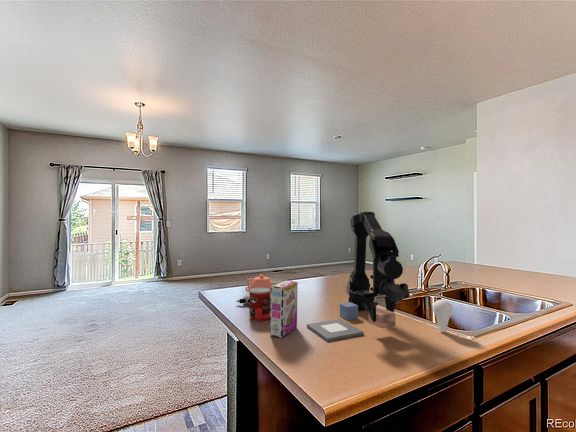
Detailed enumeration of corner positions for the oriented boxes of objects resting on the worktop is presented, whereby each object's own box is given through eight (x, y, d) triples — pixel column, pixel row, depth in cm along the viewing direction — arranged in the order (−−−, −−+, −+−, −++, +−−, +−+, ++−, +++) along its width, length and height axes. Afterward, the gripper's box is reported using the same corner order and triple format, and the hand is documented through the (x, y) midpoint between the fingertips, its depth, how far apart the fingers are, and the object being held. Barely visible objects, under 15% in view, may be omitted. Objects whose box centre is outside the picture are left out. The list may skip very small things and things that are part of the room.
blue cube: (350, 314, 124) (350, 302, 124) (358, 318, 120) (358, 305, 120) (339, 316, 122) (339, 303, 122) (347, 320, 118) (347, 307, 118)
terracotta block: (383, 319, 106) (383, 308, 106) (395, 325, 101) (395, 313, 101) (368, 322, 104) (368, 310, 104) (380, 328, 98) (380, 315, 98)
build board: (340, 321, 116) (340, 318, 116) (363, 334, 103) (363, 331, 103) (306, 327, 110) (306, 323, 110) (327, 341, 98) (327, 338, 98)
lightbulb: (445, 336, 101) (445, 303, 101) (428, 330, 107) (428, 298, 107) (457, 333, 104) (457, 300, 104) (440, 327, 110) (440, 296, 110)
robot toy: (234, 307, 137) (259, 311, 128) (233, 297, 137) (259, 300, 128) (253, 301, 147) (278, 304, 138) (253, 292, 147) (277, 294, 138)
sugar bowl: (272, 298, 149) (272, 277, 149) (243, 298, 149) (243, 277, 149) (274, 292, 161) (274, 272, 161) (247, 292, 161) (247, 272, 161)
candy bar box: (283, 339, 100) (283, 287, 100) (269, 336, 102) (269, 286, 102) (298, 327, 110) (298, 281, 110) (285, 325, 112) (285, 280, 112)
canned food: (249, 315, 124) (249, 287, 124) (270, 314, 124) (270, 287, 124) (249, 321, 116) (249, 292, 116) (270, 321, 117) (270, 291, 117)
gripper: (375, 280, 91) (375, 333, 91) (422, 275, 99) (422, 324, 99) (352, 273, 101) (352, 321, 101) (396, 269, 109) (396, 314, 109)
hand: (381, 320), depth 102 cm, fingers closed on terracotta block, 6 cm apart
